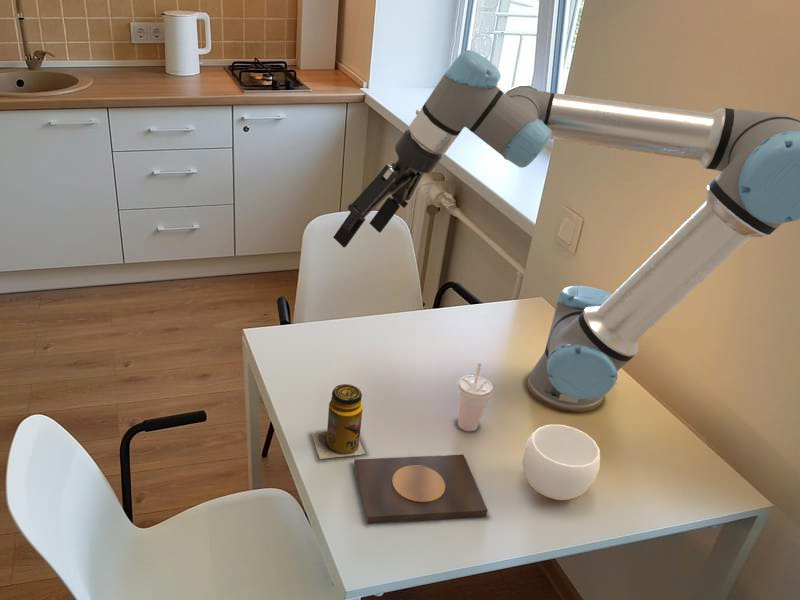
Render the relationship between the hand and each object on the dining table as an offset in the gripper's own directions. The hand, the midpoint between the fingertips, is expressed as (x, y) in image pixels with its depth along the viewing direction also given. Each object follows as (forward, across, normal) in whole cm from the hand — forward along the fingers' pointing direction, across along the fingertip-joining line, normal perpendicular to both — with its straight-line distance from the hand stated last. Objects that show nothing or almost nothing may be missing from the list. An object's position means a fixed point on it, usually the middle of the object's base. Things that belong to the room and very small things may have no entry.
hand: (357, 234), depth 134 cm
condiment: (+26, +15, +25) cm, 39 cm away
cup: (+8, +3, +56) cm, 57 cm away
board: (+18, +17, +40) cm, 47 cm away
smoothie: (+16, -5, +39) cm, 42 cm away
